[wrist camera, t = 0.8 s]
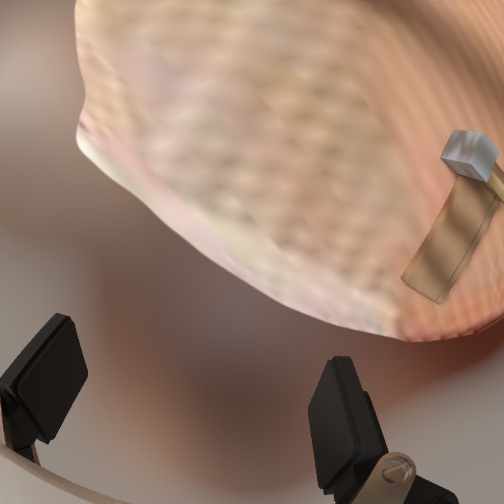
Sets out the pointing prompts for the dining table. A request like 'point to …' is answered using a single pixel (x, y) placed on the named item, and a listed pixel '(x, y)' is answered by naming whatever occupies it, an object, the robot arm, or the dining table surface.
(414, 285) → the board
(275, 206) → the dining table surface
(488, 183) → the wooden handled gray mallet
